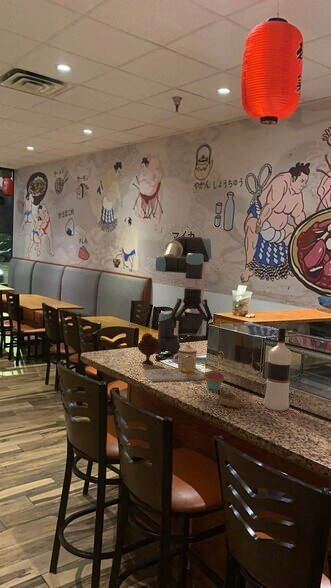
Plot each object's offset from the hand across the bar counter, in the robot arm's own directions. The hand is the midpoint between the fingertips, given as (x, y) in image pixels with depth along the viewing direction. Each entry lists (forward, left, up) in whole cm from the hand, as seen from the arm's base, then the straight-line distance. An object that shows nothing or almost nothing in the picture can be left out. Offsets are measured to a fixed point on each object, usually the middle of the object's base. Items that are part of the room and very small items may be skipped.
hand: (189, 335), depth 209 cm
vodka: (+46, +17, -19) cm, 53 cm away
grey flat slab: (0, -7, -19) cm, 20 cm away
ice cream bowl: (-25, -11, -19) cm, 33 cm away
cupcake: (+19, +4, -19) cm, 27 cm away
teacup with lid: (-14, +4, -19) cm, 24 cm away
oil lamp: (+40, 0, -19) cm, 45 cm away
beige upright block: (0, 0, -19) cm, 19 cm away
